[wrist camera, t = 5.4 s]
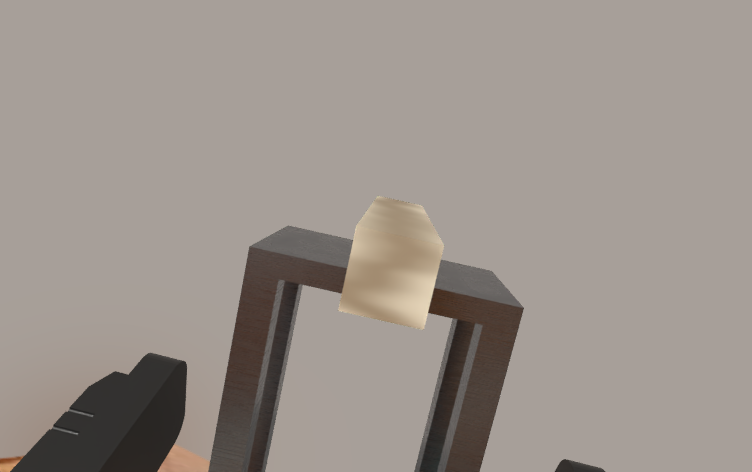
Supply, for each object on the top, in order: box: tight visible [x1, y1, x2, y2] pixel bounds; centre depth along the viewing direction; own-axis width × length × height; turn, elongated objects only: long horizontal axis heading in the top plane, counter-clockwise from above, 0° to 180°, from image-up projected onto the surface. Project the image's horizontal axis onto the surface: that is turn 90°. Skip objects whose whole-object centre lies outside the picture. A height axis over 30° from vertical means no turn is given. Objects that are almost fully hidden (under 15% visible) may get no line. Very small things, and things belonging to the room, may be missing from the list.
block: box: [338, 196, 444, 330], centre depth 30 cm, size 4×20×4 cm, turn 177°
